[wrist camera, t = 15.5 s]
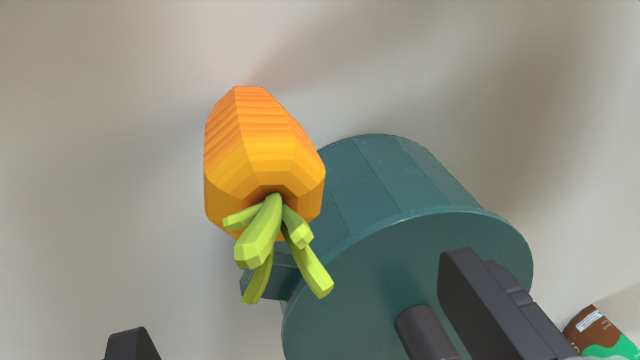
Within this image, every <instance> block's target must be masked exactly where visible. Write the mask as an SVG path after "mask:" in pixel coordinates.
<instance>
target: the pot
mask: <svg viewBox="0 0 640 360" xmlns="http://www.w3.org/2000/svg"><path fill="white" fill-rule="evenodd" d="M317 153H318V155H319V156H320V158H321V160H322V162H323V164H324V166H325V181H324V188H323V196H322V203H321V210H320V214H319V215H318V216H317V217H316V218H314V219H313V220H312V221H311V222H309V223H308V225H309V227H310V229H311V231H312V233H313V236H314V238H313V239H312V240H311V241H310V243H309V244H308V245H309V247H310V248H311V250H312V251H313V253H314V254H315V256H316V257H317V259H318V260H320V259H321V258H322V257H323V256H324V255H325V254H327V253H328V252H329V251H330V250H332V249H333V248H334V247H335V246H337V245H338V244H339V243H341V242H342V241H344V240H345V239H347V238H348V237H350V236H351V235H353V234H355V233H356V232H358V231H360V230H362V229H364V228H365V227H367V226H369V225H371V224H373V223H375V222H378V221H380V220H383V219H385V218H388V217H390V216H393V215H395V214H399V213H402V212H406V211H409V210H413V209H418V208H423V207H429V206H439V205H462V206H471V207H475V208H480V209H484V208H483V207H482V206H481V205H480V204H479V203H478V202H477V201H476V200H475V199H474V198H473V197H472V196H471V195H470V194H469V193H468V192H467V191H466V190H465V189H464V187H463V186H462V185H461V184H460V183H459V182H458V181H457V180H456V179H455V178H454V177H453V176H452V175H451V174H450V173H449V172H448V171H447V170H446V169H445V168H444V167H443V166H442V165H441V163H440V162H439V161H438V160H437V159H436V158H435V157H434V156H433V155H432V154H431V153H430V152H429V151H428V150H427V149H426V148H425V147H423V146H420V145H419V144H417V143H415V142H413V141H411V140H408V139H406V138H402V137H399V136H395V135H387V134H367V135H360V136H354V137H350V138H347V139H343V140H340V141H338V142H335V143H332V144H330V145H328V146H326V147H324V148H322V149H320V150H318V151H317ZM484 210H485V209H484ZM274 250H275V251H274V257H273V263H272V268H271V272H270V276H269V280H268V283H267V285H266V287H265V290H264V292H263V294H262V296H261V297H260V298H265V299H273V300H280V304H281V309H282V313H283V318H284V314H285V310H286V307H287V305H288V303H289V301H290V298H291V296H292V294H293V293H294V291H295V289H296V288H297V286H298V285H299V283H300V282H301V280H302V279H303V278H304V277H303V276H302V274H301V272H300V270H299V268H298V266H297V264H296V262H295V260H294V257H293V255H292V253H291V251H290V249H289V247H288V245H287V243H286V241H275V243H274ZM254 269H255V268H253V269H251V270H250V269H245V271H244V273H243V275H242V278H241V280H240V290H241V295H242V296H243V295H244V293H245V291H246V288H247V286H248V284H249V282H250V280H251V278H252V275H253V272H254Z"/></svg>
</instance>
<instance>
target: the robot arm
mask: <svg viewBox="0 0 640 360" xmlns="http://www.w3.org/2000/svg"><path fill="white" fill-rule="evenodd" d="M437 296H438V300H439V303H440V306H441V308H442V310H443V312H444V313H445V315H446V317H447V318H448V320H449V322H450V323H451V325H452V327H453V328H454V330H455V331H456V333H457V335H458V336H459V338H460V340H461V341H462V343H463V345H464V346H465V348H466V350H467V351H468V353H469V355H470V356H471V358H472V360H594V359H591V358H587V357H583V356H582V355H581V354H580V353H579V352H578V351H577V350H576V349H575V348H574V347H573V346H572V345H571V344H570V342H569V341H568V340H567V339H566V338H565V336H564V335H563V334H562V333H561V332H560V331H559V329H558V328H557V327H556V326H555V325H554V323H553V322H552V321H551V320H550V319H549V318H548V316H547V315H546V314H545V313H544V312H543V311H542V309H541V308H540V307H539V306H538V305H537V303H536V302H533V299H532V298H531V296H530V295H529V294H528V293H527V292H526V290H523V289H522V286H521V285H520V283H519V282H518V281H517V280H516V279H515V278H514V276H513V275H512V274H511V273H510V272H509V271H508V270H506V269H505V268H503V267H502V266H500V265H498V264H497V263H495V262H494V261H492V260H489V261H485V262H482V260H481V259H480V258H479V257H478V255H477V254H476V253H475V252H474V250H473V249H472V248H470V247H469V246H464V247H460V248H456V249H452V250H448V251H445V252H442V253H441V254H440V258H439V268H438V279H437ZM103 360H161V358H160V356H159V354H158V352H157V350H156V348H155V346H154V344H153V342H152V340H151V338H150V336H149V334H148V332H147V330H146V329H145V328H144V327H138V328H134V329H130V330H126V331H122V332H119V333H115V334H112V335H110V337H109V339H108V343H107V348H106V353H105V358H104V359H103Z"/></svg>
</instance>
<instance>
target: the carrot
mask: <svg viewBox="0 0 640 360" xmlns="http://www.w3.org/2000/svg"><path fill="white" fill-rule="evenodd" d="M324 181H325V166H324V164H323V162H322V160H321V158H320V156H319V155H318V153H317V151H316V149H315V147H314V146H313V144H312V142H311V141H310V139H309V138H308V136H307V134H306V133H305V131H304V130H303V128H302V127H301V125H300V124H299V123H298V122H297V121H296V120H295V119H294V118H293V117H292V116H291V115H290V114H289V113H288V112H287V111H286V110H285V109H284V108H283V107H282V106H281V104H280V103H279V102H278V101H277V100H276V99H275V98H274V97H273V96H272V95H271V94H270V93H269V92H267V91H266V90H265V89H263V88H262V87H247V86H235V87H234V88H233V89H232V90H230V91H229V92H228V93H227V94H226V95H225V96H224V97H223V98H222V99H221V100H219V101H218V102H217V103H216V104H215V106H214V107H213V109H212V111H211V113H210V115H209V118H208V121H207V123H206V127H205V138H204V199H205V212H206V216H207V217H208V219H209V220H210V221H211V222H213V223H214V224H216V225H217V226H218V227H220V228H221V229H223V230H224V231H225V232H227V233H228V234H230V235H231V236H232V237H234V238H235V239H237V240H238V241H237V242H236V244H235V245H234V247H233V250H234V258H235V261H236V263H237V264H238V266H239V268H240V269H250V270H251V269H253V268H255V269H254V272H253V275H252V278H251V280H250V282H249V284H248V286H247V288H246V291H245V293H244V295H243V298H242V300H241V302H243V303H246V304H254V303H257V302H258V301H259V299H260V297H261V296H262V294H263V292H264V290H265V287H266V285H267V283H268V280H269V276H270V272H271V268H272V263H273V257H274V251H275V250H274V243H275V241H286V243H287V245H288V247H289V249H290V251H291V253H292V255H293V257H294V260H295V262H296V264H297V266H298V268H299V270H300V272H301V274H302V276H303V277H304V279H305V281H306V282H307V284H308V285H309V287H310V288H311V290H312V291H313V293H314V294H315V295H316V296H317V297H318V299H321V298H324V297H325V296H327V295H328V294H329V293H330V291H331V290H332V289H333V286H334V282H333V280H332V279H331V277H330V276H329V274H328V273H327V271H326V270H325V269H324V267H323V266H322V264H321V263H320V262H319V260H318V259H317V257H316V256H315V254H314V253H313V251H312V250H311V248H310V247H309V245H308V244H309V243H310V241H311V240H312V239H313V238H314V236H313V233H312V231H311V229H310V227H309V225H308V223H309V222H311V221H312V220H313V219H314V218H316V217H317V216H318V215H319V214H320V210H321V203H322V196H323V188H324Z"/></svg>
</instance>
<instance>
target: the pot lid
mask: <svg viewBox="0 0 640 360" xmlns="http://www.w3.org/2000/svg"><path fill="white" fill-rule="evenodd" d="M464 246H469V247H470V248H472V249H473V250H474V252H475V253H476V254H477V255H478V257H479V258H480V259H481V260H482V262H485V261H489V260H492V261H494V262H495V263H497V264H498V265H500V266H502V267H503V268H505V269H506V270H508V271H509V272H510V273H511V274H512V275H513V276H514V278H515V279H516V280H517V281H518V282H519V283H520V285H521V286H522V289H523V290H526V292H527V293H528V294H529V291H530V288H531V284H532V279H533V259H532V254H531V251H530V249H529V246H528V244H527V242H526V241H525V239H524V238H523V236H522V235H521V234H520V233H519V232H518V231H517V229H516V228H514V227H513V226H512V225H511V224H510V223H509V222H508V221H507V220H505V219H503V218H502V217H500V216H498V215H497V214H495V213H492V212H489V211H487V210H484V209H480V208H475V207H471V206H462V205H439V206H429V207H423V208H418V209H413V210H409V211H406V212H402V213H399V214H395V215H393V216H390V217H388V218H385V219H383V220H380V221H378V222H375V223H373V224H371V225H369V226H367V227H365V228H364V229H362V230H360V231H358V232H356V233H355V234H353V235H351V236H350V237H348V238H347V239H345V240H344V241H342V242H341V243H339V244H338V245H337V246H335V247H334V248H333V249H332V250H330V251H329V252H328V253H327V254H325V255H324V256H323V257H322V258H321V259H320V260H319V262H320V263H321V264H322V266H323V267H324V269H325V270H326V271H327V273H328V274H329V276H330V277H331V279H332V280H333V282H334V286H333V289H332V290H331V291H330V293H329V294H328V295H327V296H325V297H324V298H321V299H318V297H317V296H316V295H315V294H314V293H313V291H312V290H311V288H310V287H309V285H308V284H307V282H306V281H305V279H304V278H303V279H302V280H301V282H300V283H299V285H298V286H297V288H296V289H295V291H294V293H293V294H292V296H291V298H290V301H289V303H288V305H287V307H286V310H285V314H284V318H283V321H282V330H281V338H282V347H283V352H284V355H285V358H286V360H472V358H471V356H470V355H469V353H468V351H467V350H466V348H465V346H464V345H463V343H462V341H461V340H460V338H459V336H458V335H457V333H456V331H455V330H454V328H453V327H452V325H451V323H450V322H449V320H448V318H447V317H446V315H445V313H444V312H443V310H442V308H441V306H440V303H439V300H438V296H437V279H438V268H439V258H440V254H441V253H442V252H445V251H448V250H452V249H456V248H460V247H464Z"/></svg>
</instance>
